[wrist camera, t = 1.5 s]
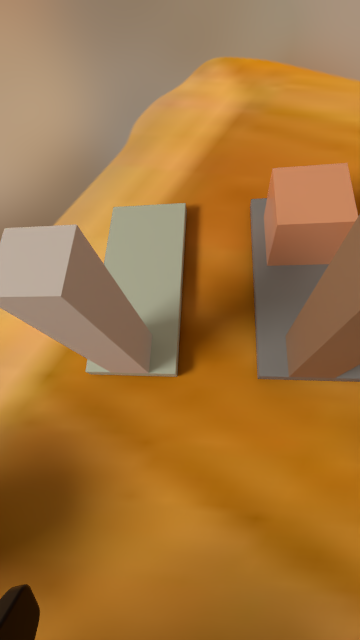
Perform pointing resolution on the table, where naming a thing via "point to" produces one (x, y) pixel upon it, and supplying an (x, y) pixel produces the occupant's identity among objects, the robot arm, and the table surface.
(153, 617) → the table surface
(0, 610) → the robot arm
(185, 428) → the table surface
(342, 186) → the terracotta cube
